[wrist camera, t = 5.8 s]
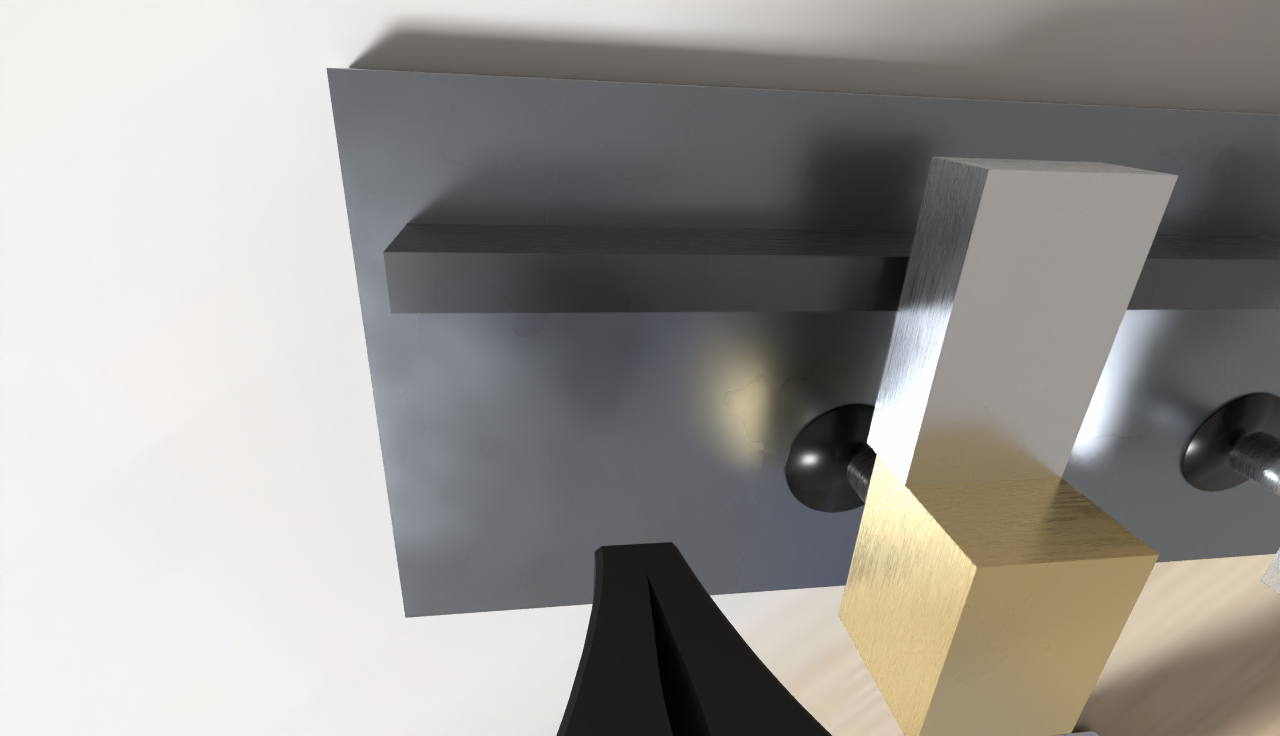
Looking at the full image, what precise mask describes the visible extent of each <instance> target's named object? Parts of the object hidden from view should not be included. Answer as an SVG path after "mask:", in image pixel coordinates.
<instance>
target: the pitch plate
mask: <svg viewBox="0 0 1280 736" xmlns="http://www.w3.org/2000/svg"><path fill="white" fill-rule="evenodd" d="M327 74H328V81H329V88H330V95H331V102H332V109H333V116H334V123H335V130H336V137H337V144H338V151H339V158H340V165H341V172H342V179H343V186H344V193H345V199H346V206H347V213H348V220H349V227H350V234H351V241H352V248H353V255H354V262H355V269H356V276H357V283H358V290H359V297H360V304H361V311H362V318H363V325H364V332H365V339H366V346H367V353H368V360H369V367H370V374H371V380H372V387H373V394H374V401H375V408H376V415H377V422H378V429H379V436H380V443H381V450H382V457H383V464H384V471H385V478H386V485H387V492H388V499H389V506H390V513H391V520H392V527H393V534H394V541H395V548H396V554H397V561H398V568H399V575H400V582H401V589H402V596H403V603H404V610H405V617H420V616H434V615H447V614H461V613H474V612H488V611H502V610H515V609H529V608H543V607H556V606H570V605H583V604H593V587H594V552H595V551H596V550H597V549H598V548H600V547H601V546H610V545H628V544H645V543H663V542H672V543H673V544H674V545H676V546H677V547H678V549H679V551H680V552H681V554H682V556H683V557H684V559H685V560H686V562H687V563H688V565H689V566H690V568H691V569H692V571H693V572H694V574H695V575H696V577H697V578H698V580H699V581H700V583H701V584H702V585H703V587H704V588H705V590H706V591H707V593H708V594H709V595H720V594H733V593H747V592H761V591H774V590H788V589H802V588H815V587H829V586H842V585H846V582H847V578H848V573H849V569H850V565H851V561H852V556H853V552H854V548H855V544H856V540H857V535H858V531H859V527H860V523H861V519H862V514H863V510H864V506H865V503H864V502H863V501H862V499H861V498H860V497H859V495H858V494H857V493H856V491H855V490H854V489H853V487H852V486H851V485H850V483H849V482H848V480H847V476H846V471H847V467H848V464H849V463H850V461H851V460H852V458H853V457H854V456H855V455H856V454H858V453H859V452H860V451H862V450H864V449H867V448H870V447H871V446H870V445H869V444H868V443H867V440H868V436H869V431H870V427H871V422H872V418H873V414H874V409H875V405H876V401H877V396H878V392H879V387H880V383H881V379H882V374H883V370H884V366H885V361H886V357H887V352H888V348H889V344H890V339H891V335H892V330H893V326H894V322H895V317H896V313H897V309H898V304H899V300H900V295H901V291H902V287H903V282H904V278H905V274H906V269H907V265H908V260H909V256H910V252H911V247H912V243H913V238H914V234H915V230H916V225H917V221H918V217H919V212H920V208H921V203H922V199H923V195H924V190H925V186H926V182H927V177H928V173H929V168H930V164H931V160H932V157H959V158H988V159H1017V160H1046V161H1075V162H1102V163H1108V164H1114V165H1120V166H1126V167H1132V168H1138V169H1144V170H1149V171H1155V172H1161V173H1167V174H1173V175H1178V178H1177V181H1176V183H1175V186H1174V188H1173V191H1172V193H1171V196H1170V199H1169V201H1168V204H1167V206H1166V209H1165V211H1164V214H1163V217H1162V219H1161V222H1160V224H1159V227H1158V230H1157V232H1156V235H1155V237H1154V240H1153V242H1152V245H1151V248H1150V250H1149V253H1148V255H1147V258H1146V261H1145V263H1144V266H1143V268H1142V271H1141V273H1140V276H1139V279H1138V281H1137V284H1136V286H1135V289H1134V291H1133V294H1132V297H1131V299H1130V302H1129V304H1128V307H1127V310H1126V312H1125V315H1124V317H1123V320H1122V322H1121V325H1120V328H1119V330H1118V333H1117V335H1116V338H1115V341H1114V343H1113V346H1112V348H1111V351H1110V353H1109V356H1108V359H1107V361H1106V364H1105V366H1104V369H1103V372H1102V374H1101V377H1100V379H1099V382H1098V384H1097V387H1096V390H1095V392H1094V395H1093V397H1092V400H1091V402H1090V405H1089V408H1088V410H1087V413H1086V415H1085V418H1084V421H1083V423H1082V426H1081V428H1080V431H1079V433H1078V436H1077V439H1076V441H1075V444H1074V446H1073V449H1072V452H1071V454H1070V457H1069V459H1068V462H1067V464H1066V467H1065V470H1064V472H1063V475H1062V477H1061V478H1062V479H1063V480H1065V481H1066V482H1067V483H1069V484H1070V485H1071V486H1072V487H1074V488H1075V489H1076V490H1077V491H1079V492H1080V493H1081V494H1083V495H1084V496H1085V497H1086V498H1088V499H1089V500H1090V501H1091V502H1093V503H1094V504H1095V505H1097V506H1098V507H1099V508H1100V509H1102V510H1103V511H1104V512H1106V513H1107V514H1108V515H1109V516H1111V517H1112V518H1113V519H1114V520H1116V521H1117V522H1118V523H1120V524H1121V525H1122V526H1123V527H1125V528H1126V529H1127V530H1128V531H1130V532H1131V533H1132V534H1134V535H1135V536H1136V537H1137V538H1139V539H1140V540H1141V541H1143V542H1144V543H1145V544H1146V545H1148V546H1149V547H1150V548H1151V549H1153V550H1154V551H1155V552H1157V553H1158V554H1159V557H1158V559H1157V561H1156V562H1170V561H1183V560H1197V559H1210V558H1224V557H1238V556H1251V555H1265V554H1276V553H1277V554H1276V556H1275V557H1274V559H1273V561H1272V562H1271V564H1270V566H1269V567H1268V569H1267V571H1266V573H1265V574H1264V576H1263V578H1262V579H1261V582H1262V583H1264V584H1265V585H1267V586H1268V587H1269V588H1271V589H1272V590H1274V591H1275V592H1276V593H1278V594H1279V595H1280V549H1279V548H1280V114H1263V113H1243V112H1223V111H1203V110H1182V109H1162V108H1142V107H1122V106H1102V105H1081V104H1061V103H1041V102H1021V101H1001V100H980V99H960V98H940V97H920V96H899V95H879V94H859V93H839V92H819V91H798V90H778V89H758V88H738V87H718V86H697V85H677V84H657V83H637V82H617V81H596V80H576V79H556V78H536V77H516V76H495V75H475V74H455V73H435V72H415V71H394V70H374V69H354V68H327ZM1278 550H1279V551H1278ZM1277 551H1278V552H1277Z"/></svg>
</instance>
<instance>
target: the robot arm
mask: <svg viewBox="0 0 1280 736" xmlns="http://www.w3.org/2000/svg"><path fill="white" fill-rule="evenodd" d="M557 736H832V735H831V734H830V733H829V732H828V731H827V730H826V729H825V728H824V727H823V726H822V725H821V724H820V723H819V722H818V721H817V720H816V719H815V718H814V717H813V716H812V715H811V714H810V713H809V712H808V711H807V710H806V709H805V708H804V707H803V706H802V705H801V704H800V703H799V702H798V701H797V700H796V699H795V698H794V697H793V696H792V695H791V694H790V693H789V691H788V690H787V689H786V688H785V687H784V686H783V685H782V684H781V683H780V682H779V681H778V679H777V678H776V677H775V676H774V675H773V674H772V673H771V671H770V670H769V669H768V668H767V667H766V666H765V665H764V664H763V662H762V661H761V660H760V659H759V658H758V657H757V655H756V654H755V653H754V652H753V651H752V649H751V648H750V647H749V646H748V645H747V643H746V642H745V641H744V640H743V638H742V637H741V636H740V635H739V633H738V632H737V631H736V630H735V628H734V627H733V626H732V624H731V623H730V622H729V621H728V619H727V618H726V617H725V616H724V614H723V613H722V612H721V610H720V609H719V608H718V606H717V605H716V604H715V602H714V601H713V600H712V598H711V597H710V595H709V594H708V593H707V591H706V590H705V588H704V587H703V585H702V584H701V583H700V581H699V580H698V578H697V577H696V575H695V574H694V572H693V571H692V569H691V568H690V566H689V565H688V563H687V562H686V560H685V559H684V557H683V556H682V554H681V552H680V551H679V549H678V547H677V546H676V545H674V544H673V543H672V542H663V543H645V544H628V545H610V546H601V547H600V548H598V549H597V550H596V551H595V552H594V587H593V605H592V611H591V616H590V621H589V626H588V630H587V635H586V640H585V644H584V649H583V652H582V656H581V660H580V663H579V667H578V670H577V674H576V677H575V681H574V684H573V687H572V691H571V694H570V698H569V701H568V704H567V707H566V710H565V713H564V716H563V719H562V722H561V725H560V727H559V730H558V733H557ZM1053 736H1099V735H1098V734H1097V733H1095V732H1092V731H1087V732H1079V733H1070V734H1062V735H1053Z"/></svg>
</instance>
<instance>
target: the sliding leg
mask: <svg viewBox="0 0 1280 736" xmlns="http://www.w3.org/2000/svg"><path fill="white" fill-rule="evenodd" d="M1177 178H1178V175H1173V174H1167V173H1161V172H1155V171H1149V170H1144V169H1138V168H1132V167H1126V166H1120V165H1114V164H1108V163H1102V162H1075V161H1046V160H1017V159H988V158H959V157H932V160H931V164H930V168H929V173H928V177H927V182H926V186H925V190H924V195H923V199H922V203H921V208H920V212H919V217H918V221H917V225H916V230H915V234H914V238H913V243H912V247H911V252H910V256H909V260H908V265H907V269H906V274H905V278H904V282H903V287H902V291H901V295H900V300H899V304H898V309H897V313H896V317H895V322H894V326H893V330H892V335H891V339H890V344H889V348H888V352H887V357H886V361H885V366H884V370H883V374H882V379H881V383H880V387H879V392H878V396H877V401H876V405H875V409H874V414H873V418H872V422H871V427H870V431H869V436H868V440H867V443H868V444H869V445H870V446H871V447H870V448H867V449H864V450H862V451H860V452H859V453H858V454H856V455H855V456H854V457H853V458H852V460H851V461H850V463H849V464H848V467H847V471H846V476H847V480H848V482H849V483H850V485H851V486H852V487H853V489H854V490H855V491H856V493H857V494H858V495H859V497H860V498H861V499H862V501H863V502H864V503H865V506H864V510H863V514H862V519H861V523H860V527H859V531H858V535H857V540H856V544H855V548H854V552H853V556H852V561H851V565H850V569H849V573H848V578H847V582H846V586H845V590H844V594H843V599H842V603H841V607H840V611H839V617H840V619H841V621H842V622H843V624H844V626H845V628H846V630H847V631H848V633H849V635H850V637H851V639H852V641H853V642H854V644H855V646H856V648H857V650H858V652H859V653H860V655H861V657H862V659H863V661H864V662H865V664H866V666H867V668H868V670H869V672H870V673H871V675H872V677H873V679H874V681H875V682H876V684H877V686H878V688H879V690H880V692H881V693H882V695H883V697H884V699H885V701H886V702H887V704H888V706H889V708H890V710H891V712H892V713H893V715H894V717H895V719H896V721H897V722H898V724H899V726H900V728H901V730H902V732H903V733H904V735H905V736H1052V735H1060V734H1069V733H1072V731H1073V729H1074V727H1075V725H1076V723H1077V721H1078V718H1079V716H1080V714H1081V712H1082V710H1083V708H1084V706H1085V704H1086V702H1087V700H1088V698H1089V696H1090V694H1091V692H1092V690H1093V688H1094V686H1095V684H1096V682H1097V680H1098V678H1099V676H1100V674H1101V672H1102V670H1103V668H1104V666H1105V664H1106V662H1107V660H1108V658H1109V656H1110V654H1111V652H1112V650H1113V648H1114V646H1115V644H1116V642H1117V640H1118V638H1119V636H1120V634H1121V632H1122V630H1123V627H1124V625H1125V623H1126V621H1127V619H1128V617H1129V615H1130V613H1131V611H1132V609H1133V607H1134V605H1135V603H1136V601H1137V599H1138V597H1139V595H1140V593H1141V591H1142V589H1143V587H1144V585H1145V583H1146V581H1147V579H1148V577H1149V575H1150V573H1151V571H1152V569H1153V567H1154V565H1155V563H1156V561H1157V559H1158V557H1159V554H1158V553H1157V552H1155V551H1154V550H1153V549H1151V548H1150V547H1149V546H1148V545H1146V544H1145V543H1144V542H1143V541H1141V540H1140V539H1139V538H1137V537H1136V536H1135V535H1134V534H1132V533H1131V532H1130V531H1128V530H1127V529H1126V528H1125V527H1123V526H1122V525H1121V524H1120V523H1118V522H1117V521H1116V520H1114V519H1113V518H1112V517H1111V516H1109V515H1108V514H1107V513H1106V512H1104V511H1103V510H1102V509H1100V508H1099V507H1098V506H1097V505H1095V504H1094V503H1093V502H1091V501H1090V500H1089V499H1088V498H1086V497H1085V496H1084V495H1083V494H1081V493H1080V492H1079V491H1077V490H1076V489H1075V488H1074V487H1072V486H1071V485H1070V484H1069V483H1067V482H1066V481H1065V480H1063V479H1062V478H1061V477H1062V475H1063V472H1064V470H1065V467H1066V464H1067V462H1068V459H1069V457H1070V454H1071V452H1072V449H1073V446H1074V444H1075V441H1076V439H1077V436H1078V433H1079V431H1080V428H1081V426H1082V423H1083V421H1084V418H1085V415H1086V413H1087V410H1088V408H1089V405H1090V402H1091V400H1092V397H1093V395H1094V392H1095V390H1096V387H1097V384H1098V382H1099V379H1100V377H1101V374H1102V372H1103V369H1104V366H1105V364H1106V361H1107V359H1108V356H1109V353H1110V351H1111V348H1112V346H1113V343H1114V341H1115V338H1116V335H1117V333H1118V330H1119V328H1120V325H1121V322H1122V320H1123V317H1124V315H1125V312H1126V310H1127V307H1128V304H1129V302H1130V299H1131V297H1132V294H1133V291H1134V289H1135V286H1136V284H1137V281H1138V279H1139V276H1140V273H1141V271H1142V268H1143V266H1144V263H1145V261H1146V258H1147V255H1148V253H1149V250H1150V248H1151V245H1152V242H1153V240H1154V237H1155V235H1156V232H1157V230H1158V227H1159V224H1160V222H1161V219H1162V217H1163V214H1164V211H1165V209H1166V206H1167V204H1168V201H1169V199H1170V196H1171V193H1172V191H1173V188H1174V186H1175V183H1176V181H1177Z"/></svg>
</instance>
